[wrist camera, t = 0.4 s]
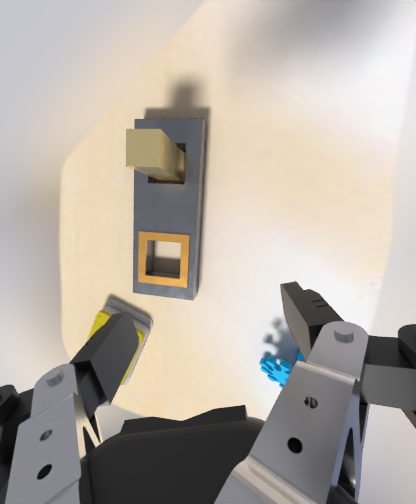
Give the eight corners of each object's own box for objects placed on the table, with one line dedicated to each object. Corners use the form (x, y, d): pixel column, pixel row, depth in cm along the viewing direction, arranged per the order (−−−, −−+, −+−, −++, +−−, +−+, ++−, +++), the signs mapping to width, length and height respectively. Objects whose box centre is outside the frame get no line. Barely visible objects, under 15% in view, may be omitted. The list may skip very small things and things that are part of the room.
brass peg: (160, 153, 35) (126, 128, 25) (185, 154, 34) (160, 128, 25) (159, 180, 36) (126, 166, 26) (184, 181, 35) (159, 167, 25)
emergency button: (144, 331, 36) (114, 403, 39) (156, 319, 40) (127, 384, 43) (95, 304, 37) (68, 376, 40) (111, 295, 41) (86, 361, 44)
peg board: (142, 125, 35) (133, 118, 32) (206, 125, 33) (202, 117, 31) (140, 288, 39) (132, 293, 36) (196, 295, 37) (192, 301, 35)
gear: (245, 362, 36) (292, 369, 27) (261, 330, 39) (307, 328, 31) (292, 404, 37) (352, 424, 29) (304, 370, 40) (361, 379, 32)
